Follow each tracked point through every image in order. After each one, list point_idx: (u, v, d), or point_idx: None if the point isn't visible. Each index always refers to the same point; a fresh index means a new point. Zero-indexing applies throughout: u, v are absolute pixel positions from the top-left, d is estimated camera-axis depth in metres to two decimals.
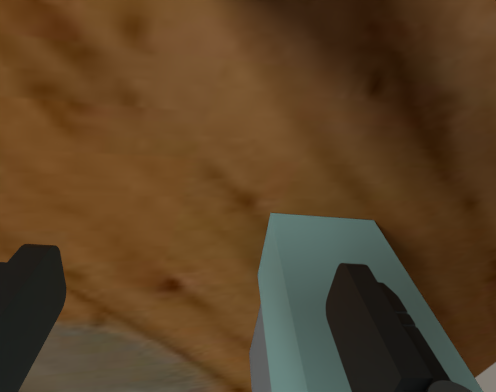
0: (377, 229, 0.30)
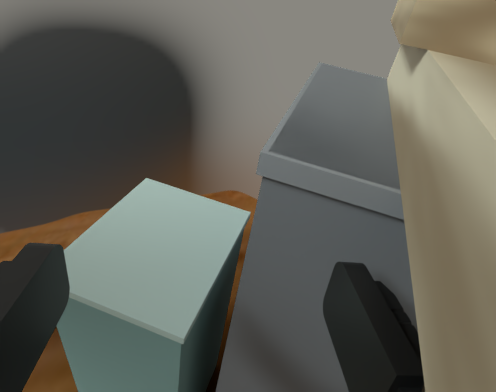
0: None
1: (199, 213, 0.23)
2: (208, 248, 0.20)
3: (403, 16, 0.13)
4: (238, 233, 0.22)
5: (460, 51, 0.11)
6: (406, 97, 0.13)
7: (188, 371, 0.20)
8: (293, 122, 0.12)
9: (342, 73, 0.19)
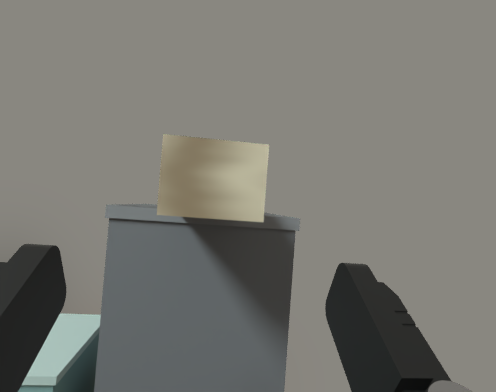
0: None
1: (62, 321, 0.27)
2: (73, 335, 0.24)
3: None
4: (99, 325, 0.27)
5: None
6: None
7: None
8: None
9: None
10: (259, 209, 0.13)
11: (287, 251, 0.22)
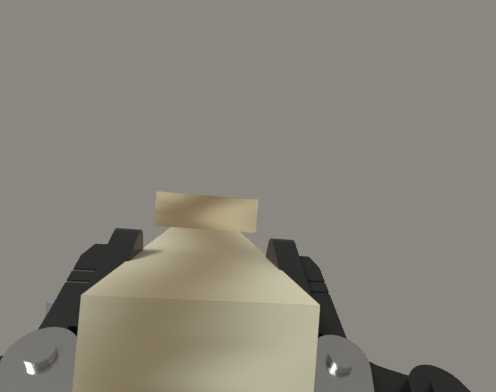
0: None
1: None
2: None
3: None
4: None
5: (189, 225, 0.19)
6: None
7: None
8: None
9: None
10: None
11: None
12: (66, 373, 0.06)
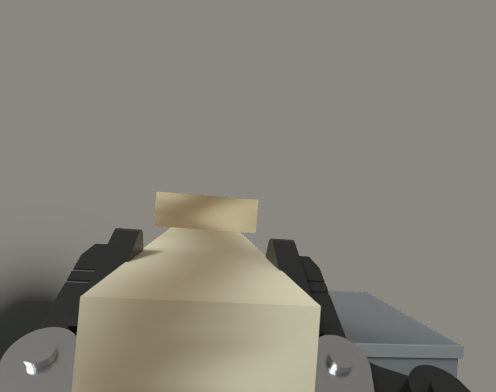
0: None
1: None
2: None
3: None
4: None
5: (189, 225, 0.19)
6: None
7: None
8: None
9: None
10: None
11: None
12: (66, 373, 0.06)
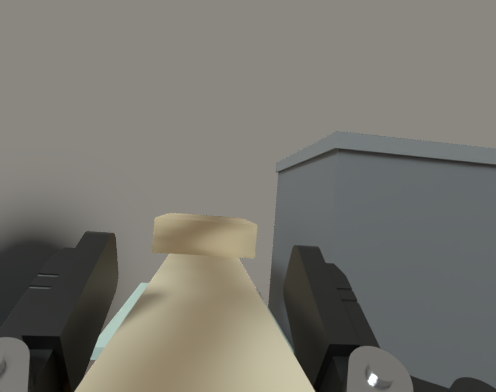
0: None
1: None
2: None
3: None
4: (261, 297, 0.22)
5: (187, 251, 0.19)
6: None
7: None
8: None
9: None
10: None
11: None
12: (11, 387, 0.05)
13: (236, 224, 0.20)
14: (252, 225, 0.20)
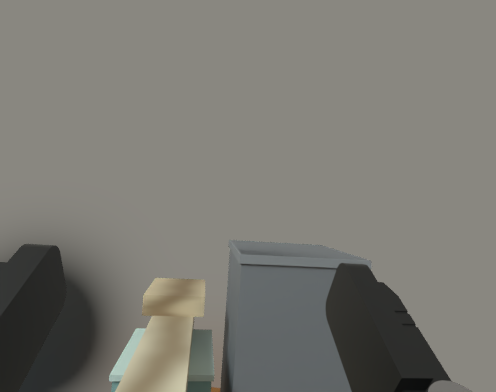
0: None
1: None
2: (199, 346, 0.33)
3: None
4: (211, 338, 0.35)
5: (163, 314, 0.32)
6: None
7: None
8: (241, 250, 0.32)
9: (242, 241, 0.41)
10: None
11: None
12: None
13: (192, 297, 0.33)
14: (202, 297, 0.33)
